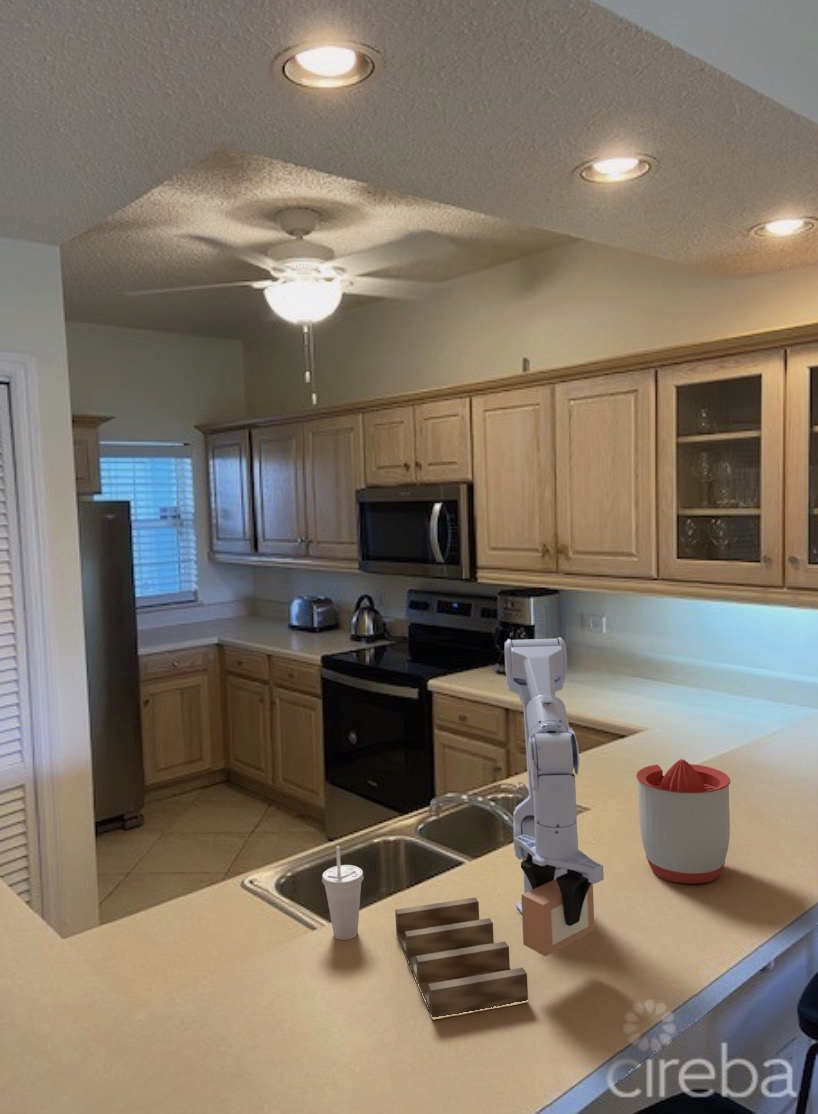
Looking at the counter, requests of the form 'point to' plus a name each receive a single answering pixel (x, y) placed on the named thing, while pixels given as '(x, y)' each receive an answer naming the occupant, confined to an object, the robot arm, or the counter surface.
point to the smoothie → (343, 897)
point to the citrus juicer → (684, 821)
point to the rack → (458, 958)
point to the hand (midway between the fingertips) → (559, 916)
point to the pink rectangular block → (552, 919)
